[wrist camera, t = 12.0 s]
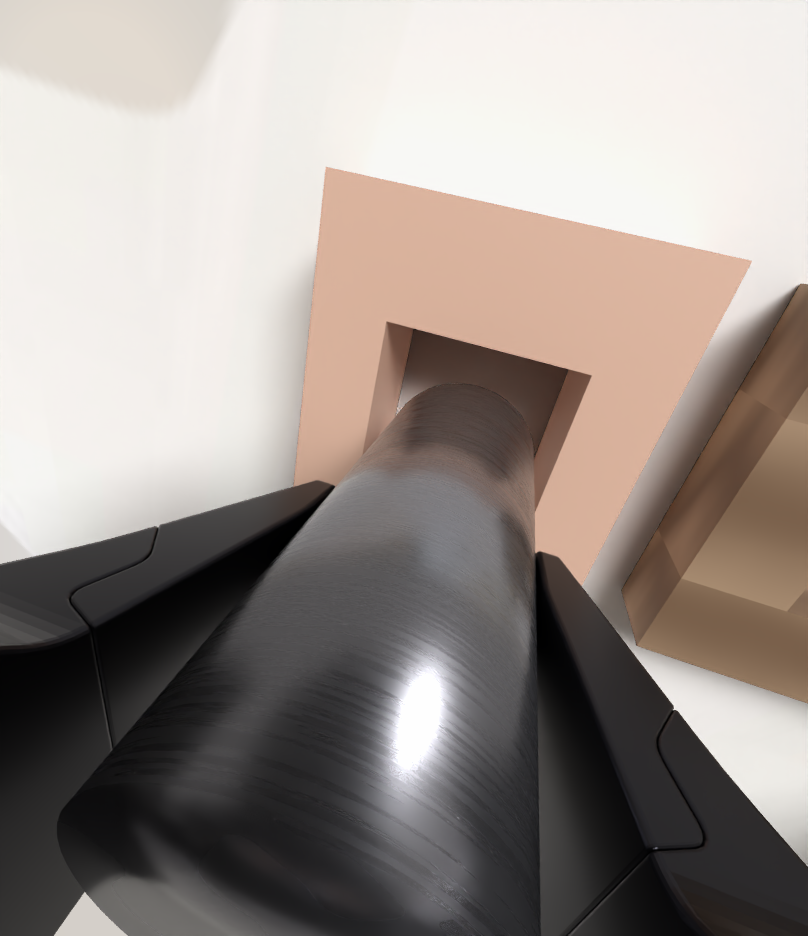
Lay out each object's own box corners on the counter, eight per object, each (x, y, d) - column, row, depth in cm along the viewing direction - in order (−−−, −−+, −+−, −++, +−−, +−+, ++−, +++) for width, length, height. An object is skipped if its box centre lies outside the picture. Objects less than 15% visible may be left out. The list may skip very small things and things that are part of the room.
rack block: (549, 566, 19) (554, 638, 15) (329, 496, 20) (287, 546, 17) (692, 259, 13) (752, 261, 10) (375, 188, 14) (325, 167, 11)
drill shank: (506, 535, 13) (455, 1122, 4) (377, 494, 13) (89, 936, 5) (556, 407, 11) (654, 983, 2) (404, 365, 12) (8, 703, 3)
